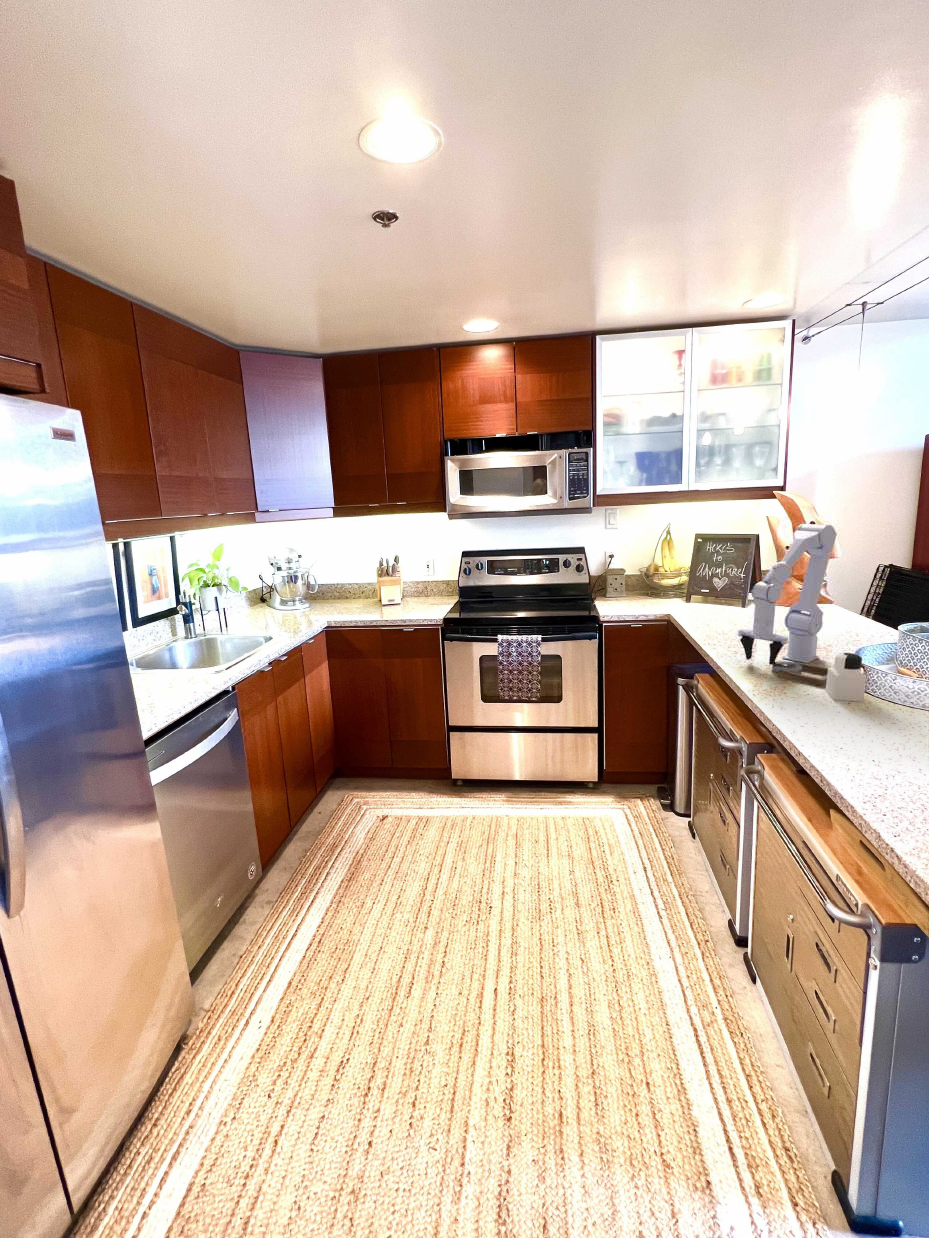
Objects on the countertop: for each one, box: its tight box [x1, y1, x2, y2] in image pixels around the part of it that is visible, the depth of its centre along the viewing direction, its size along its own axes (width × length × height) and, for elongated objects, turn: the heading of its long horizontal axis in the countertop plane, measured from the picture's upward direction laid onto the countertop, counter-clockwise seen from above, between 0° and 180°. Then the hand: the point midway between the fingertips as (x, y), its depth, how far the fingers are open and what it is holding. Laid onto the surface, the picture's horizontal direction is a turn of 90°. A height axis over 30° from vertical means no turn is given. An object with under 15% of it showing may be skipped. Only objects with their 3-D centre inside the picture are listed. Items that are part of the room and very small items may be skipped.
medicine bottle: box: [825, 652, 867, 702], centre depth 157 cm, size 7×7×12 cm
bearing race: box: [771, 660, 802, 675], centre depth 179 cm, size 8×8×2 cm
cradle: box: [777, 661, 829, 688], centre depth 174 cm, size 12×12×2 cm
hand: (760, 661), depth 185 cm, fingers open, 7 cm apart
